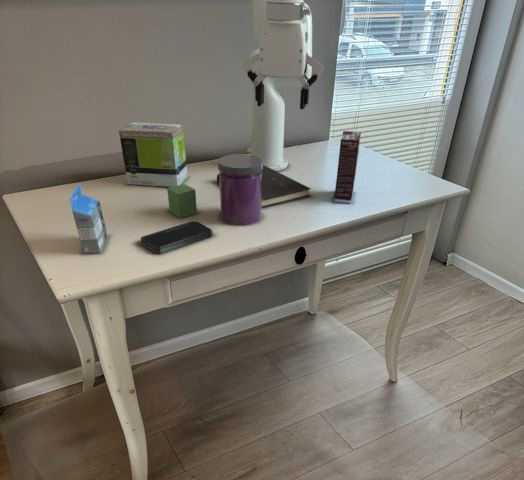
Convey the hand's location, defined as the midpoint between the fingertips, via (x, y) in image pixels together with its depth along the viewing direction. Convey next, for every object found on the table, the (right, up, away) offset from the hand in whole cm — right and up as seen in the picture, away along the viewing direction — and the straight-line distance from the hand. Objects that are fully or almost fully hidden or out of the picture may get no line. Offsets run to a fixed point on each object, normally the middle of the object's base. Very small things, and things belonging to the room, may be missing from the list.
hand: (281, 106), depth 110 cm
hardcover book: (-4, -10, +28) cm, 30 cm away
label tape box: (-41, -31, 0) cm, 52 cm away
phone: (-24, -29, +2) cm, 37 cm away
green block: (-24, -20, +14) cm, 34 cm away
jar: (-9, -21, +12) cm, 26 cm away
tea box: (-34, -6, +32) cm, 47 cm away
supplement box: (+18, -13, +24) cm, 32 cm away
